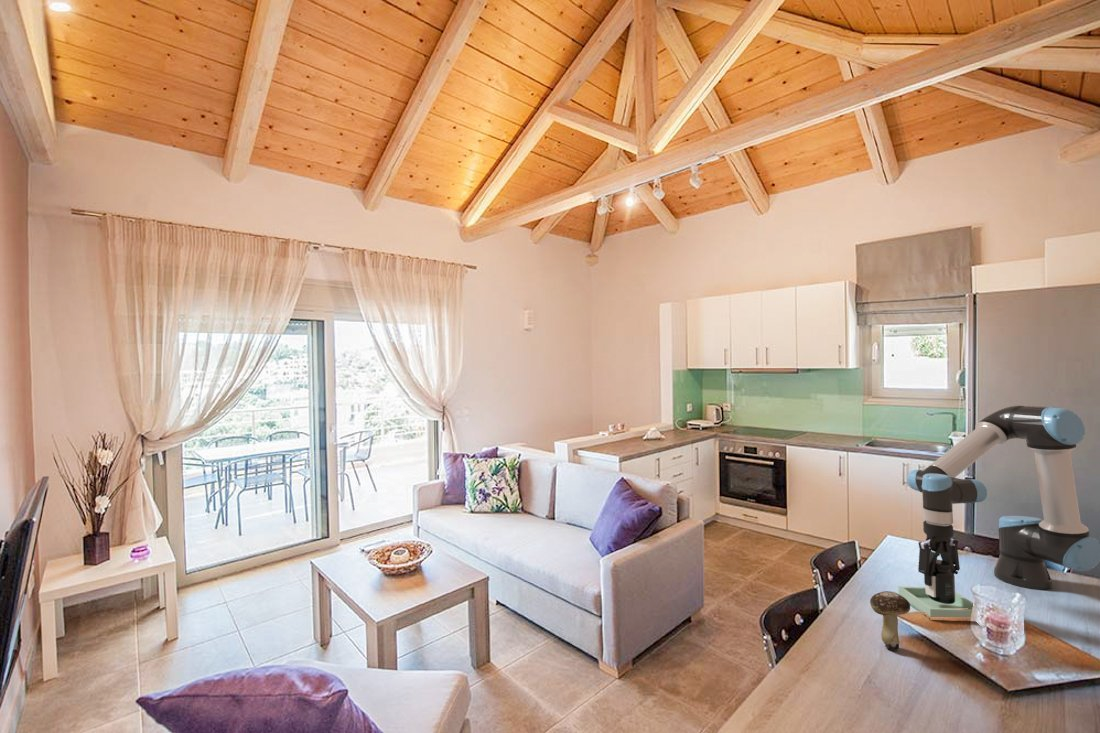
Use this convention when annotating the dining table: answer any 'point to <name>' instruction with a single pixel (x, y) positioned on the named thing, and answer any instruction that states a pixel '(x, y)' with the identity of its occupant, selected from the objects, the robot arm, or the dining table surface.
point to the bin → (935, 603)
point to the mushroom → (890, 615)
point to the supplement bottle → (944, 583)
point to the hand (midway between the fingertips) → (939, 593)
